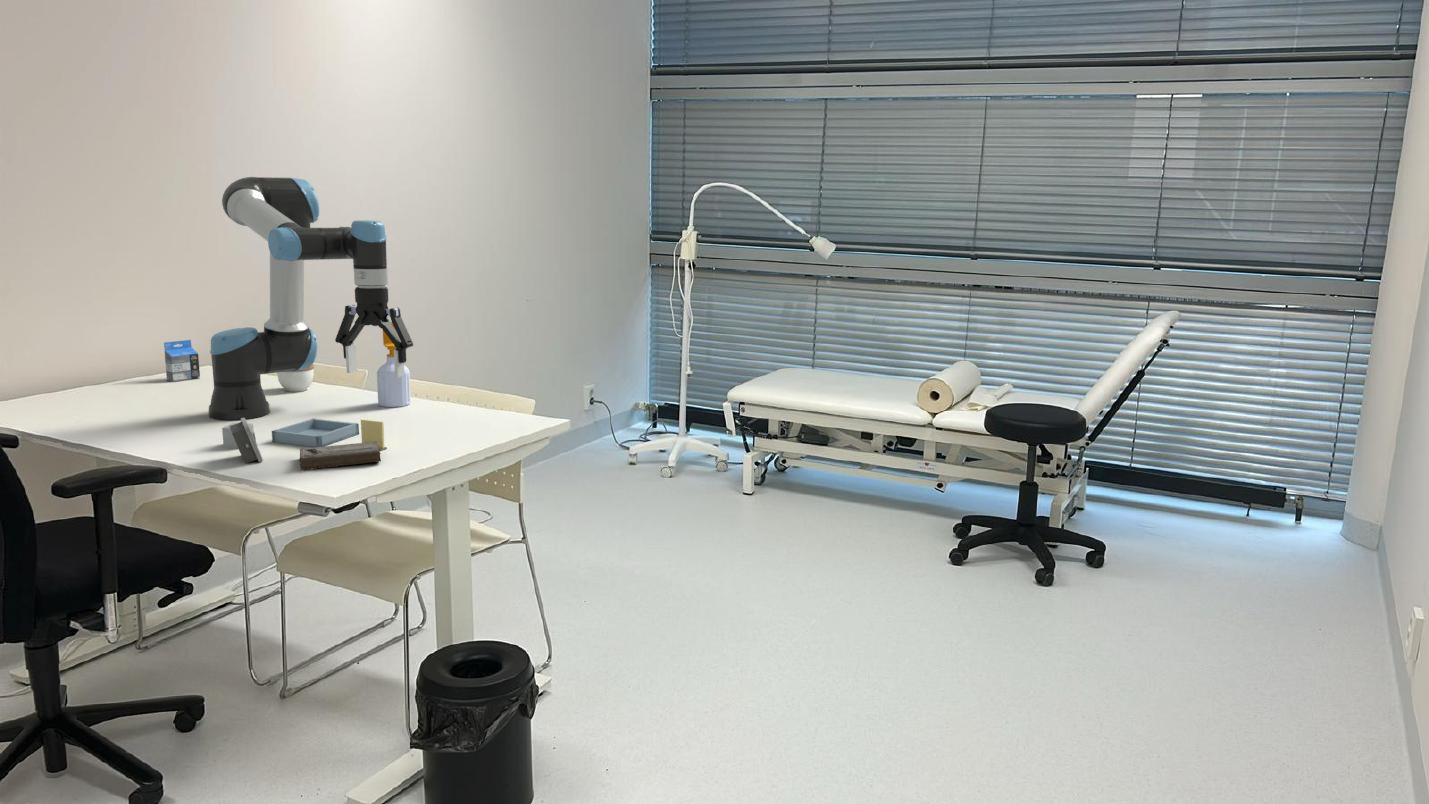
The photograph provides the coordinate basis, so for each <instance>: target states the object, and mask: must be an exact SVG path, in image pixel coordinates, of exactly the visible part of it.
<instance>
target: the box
mask: <svg viewBox="0 0 1429 804" xmlns="http://www.w3.org/2000/svg"><path fill="white" fill-rule="evenodd" d="M381 454H382V453H381V451H379V449H378V446H377V442H366V443H362V442H360V443H358V442H357V443H347V444H337V445H336V444H335V445H327V446H324V447H306V448H304V447H303V448H299V467H300V471H308V470H317V469H323V468H333V467H340V466H348V465H350V466H351V465H357V464H358V465H360V464H368V463H374V462H380V463H381V462H382V460H381Z"/></svg>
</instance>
